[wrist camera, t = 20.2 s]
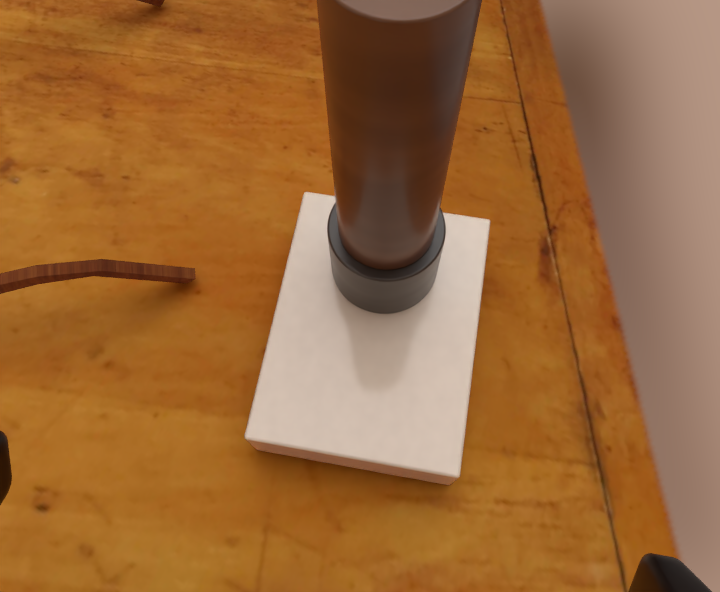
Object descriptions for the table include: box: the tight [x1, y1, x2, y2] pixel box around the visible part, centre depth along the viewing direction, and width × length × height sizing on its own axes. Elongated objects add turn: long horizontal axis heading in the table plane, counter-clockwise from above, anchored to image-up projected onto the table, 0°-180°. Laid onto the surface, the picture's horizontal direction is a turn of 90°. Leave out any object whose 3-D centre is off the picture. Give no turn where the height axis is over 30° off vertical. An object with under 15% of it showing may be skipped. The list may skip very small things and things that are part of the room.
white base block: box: [244, 192, 490, 485], centre depth 20 cm, size 8×6×2 cm
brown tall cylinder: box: [317, 0, 482, 314], centre depth 15 cm, size 3×3×11 cm
